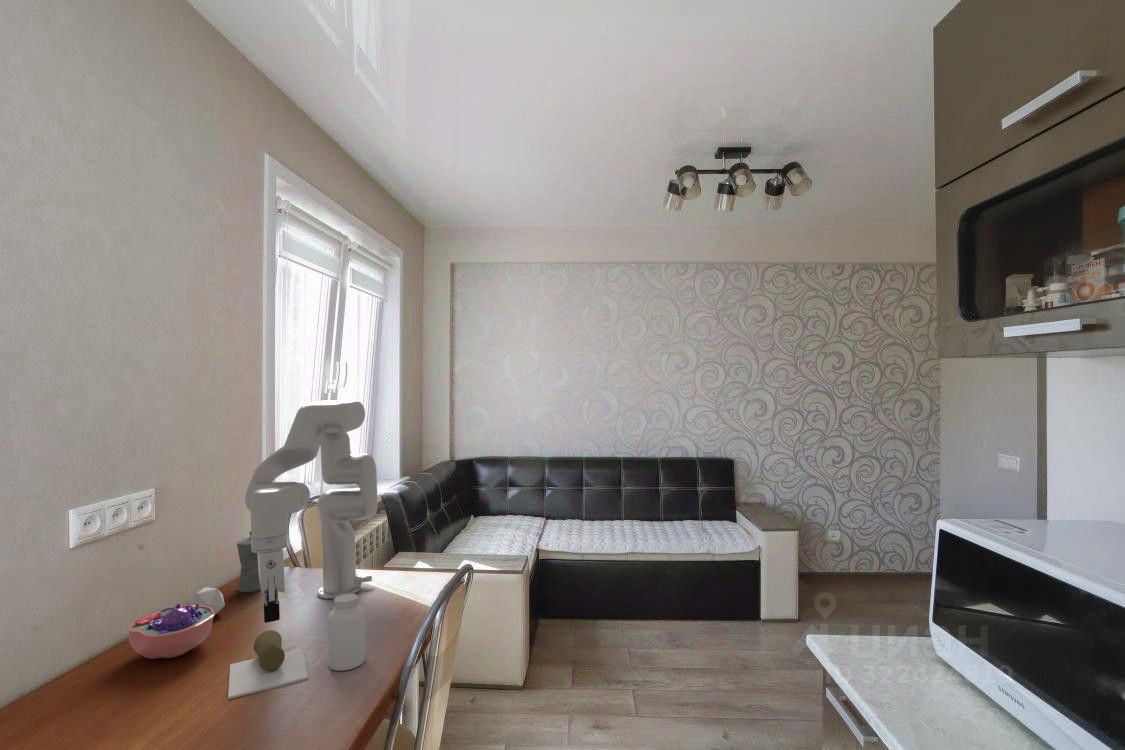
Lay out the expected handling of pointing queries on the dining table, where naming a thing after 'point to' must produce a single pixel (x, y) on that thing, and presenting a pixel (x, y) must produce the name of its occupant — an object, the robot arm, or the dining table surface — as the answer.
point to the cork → (269, 650)
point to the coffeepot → (248, 567)
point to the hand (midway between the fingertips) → (271, 620)
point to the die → (209, 599)
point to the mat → (265, 674)
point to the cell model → (171, 630)
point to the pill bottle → (346, 633)
